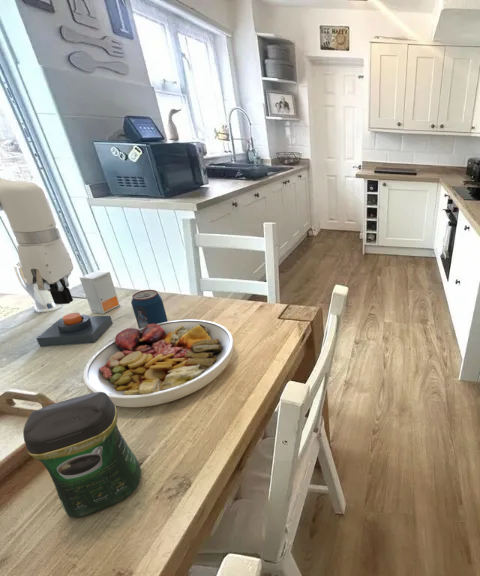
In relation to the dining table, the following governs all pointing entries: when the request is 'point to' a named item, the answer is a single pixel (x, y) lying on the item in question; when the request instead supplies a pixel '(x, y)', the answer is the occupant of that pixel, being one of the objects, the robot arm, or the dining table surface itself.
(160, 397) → the white plate of food
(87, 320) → the button base
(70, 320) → the orange button cap
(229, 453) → the dining table surface
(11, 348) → the dining table surface
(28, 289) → the beer glass
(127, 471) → the coffee jar
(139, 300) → the soda can
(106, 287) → the cosmetic box
